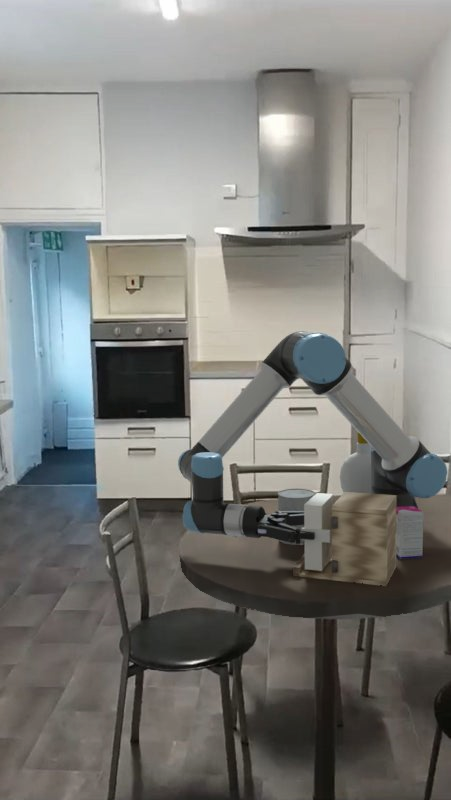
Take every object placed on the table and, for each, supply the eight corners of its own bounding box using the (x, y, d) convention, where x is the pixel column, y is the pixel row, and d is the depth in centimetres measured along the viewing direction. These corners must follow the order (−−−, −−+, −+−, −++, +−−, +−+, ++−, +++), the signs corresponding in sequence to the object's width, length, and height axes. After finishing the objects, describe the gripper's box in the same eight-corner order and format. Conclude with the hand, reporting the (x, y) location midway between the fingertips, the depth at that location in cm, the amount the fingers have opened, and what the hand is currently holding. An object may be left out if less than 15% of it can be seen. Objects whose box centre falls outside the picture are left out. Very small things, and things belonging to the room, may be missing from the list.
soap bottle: (390, 500, 245) (390, 415, 241) (385, 508, 237) (385, 420, 233) (343, 497, 250) (342, 414, 246) (337, 505, 241) (336, 419, 238)
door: (333, 555, 191) (333, 494, 189) (321, 570, 181) (321, 506, 179) (312, 553, 193) (312, 492, 191) (299, 568, 183) (299, 504, 181)
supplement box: (423, 557, 193) (424, 511, 191) (400, 559, 192) (400, 513, 191) (414, 550, 199) (414, 505, 197) (391, 552, 198) (391, 506, 196)
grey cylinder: (313, 545, 204) (313, 498, 202) (276, 544, 206) (275, 497, 204) (317, 534, 213) (316, 489, 212) (281, 533, 215) (280, 488, 214)
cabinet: (396, 566, 187) (396, 495, 185) (384, 588, 174) (385, 511, 172) (308, 557, 195) (307, 489, 193) (291, 577, 182) (290, 504, 179)
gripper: (262, 522, 204) (347, 530, 196) (228, 551, 182) (323, 561, 174) (261, 493, 203) (347, 500, 195) (228, 519, 181) (323, 527, 173)
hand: (336, 528), depth 185 cm, fingers closed on door, 11 cm apart
